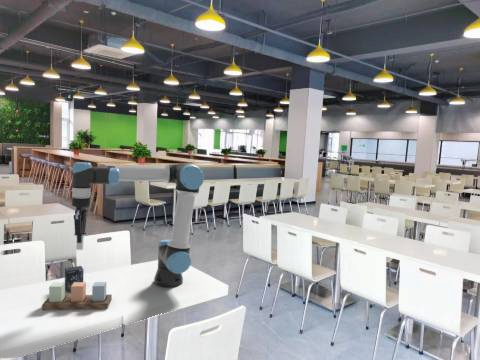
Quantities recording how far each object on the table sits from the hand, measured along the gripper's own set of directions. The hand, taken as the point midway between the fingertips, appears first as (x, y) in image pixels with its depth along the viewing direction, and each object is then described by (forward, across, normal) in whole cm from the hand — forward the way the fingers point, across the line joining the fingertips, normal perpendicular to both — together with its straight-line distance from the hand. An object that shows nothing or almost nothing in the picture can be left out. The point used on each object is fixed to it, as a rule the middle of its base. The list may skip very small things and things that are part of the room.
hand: (79, 249), depth 167 cm
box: (+26, -18, -7) cm, 32 cm away
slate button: (+23, +1, +9) cm, 24 cm away
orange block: (+23, +1, 0) cm, 23 cm away
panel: (+25, +1, 0) cm, 25 cm away
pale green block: (+23, +1, -9) cm, 25 cm away
